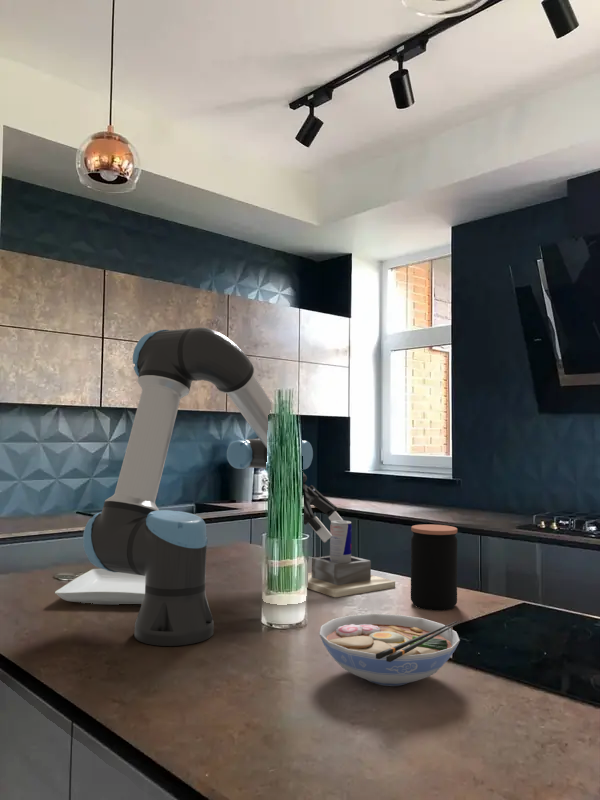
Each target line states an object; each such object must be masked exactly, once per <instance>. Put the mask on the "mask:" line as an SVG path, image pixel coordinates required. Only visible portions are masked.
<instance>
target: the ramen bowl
mask: <svg viewBox="0 0 600 800" xmlns="http://www.w3.org/2000/svg"><path fill="white" fill-rule="evenodd" d="M460 623H461V621H453V622H451V623H449V624H446V625H445V624H443V623H441V622H436V621H434V620H429V619H426V618H422V617H417V616H410V615H403V614H389V613H365V614H364V613H363V614H351V615H346V616H345V615H344V616H340V617H337V618H333V619H330V620H328V621H327V622H324V623H323V624H322V625H320V627H319V628H320V629H319V632H318V634H319V637H320V639H321V642H322V644H323V645H324V647H325V648H326V651H327V652H328V654H329V655H330V656H331V657H332V659H334V661H335V662H337V664H338V665H339V666H341V668H343V669H344V670H345V671H347V672H348V673H349V674H352V675H354V676H356V677H359V678H361V679H364V680H367V681H368V682H370V683H372V684H375V685H377V686H384V687H401V686H404V685H406V684H409V683H414V682H417V681H420V680H423V679H426V678H429V677H431V676H433V675H434V674H436V673H438V671H439V670H440V669H441V668H442V667H443V666H444V665H445V664H446V663H447V661H448V660H449V659H450V658H451V656H452V655H453V653H455V651H456V649H457V647H458V645H459V643H460V641H461V639H460V637H459V634H458V633H457V631H455V630H454V629H452V628H453V627H456V626H458V624H460Z"/></svg>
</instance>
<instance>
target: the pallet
mask: <svg viewBox="0 0 600 800" xmlns="http://www.w3.org/2000/svg"><path fill="white" fill-rule="evenodd" d="M371 572H372V561H371V560H370V559H365V558H361V557H357V556H354V555H351V562H347V563H335V562H331V561H330V555H325V556H319V557H312V558H311V572H307V573H308V588H307V589H309V590H311V591H313V592H314V591H315V592H318V593H322V594H323V595H326V596H330V597H333V598H339V597H346V596H351V595H352V596H353V595H356V594H357V595H358V594H364V593H369V592H377V591H382V590H387V589H393V588H396V581H394V580H391V579H388V578H385V577H382V576H376V575H373V574H372V573H371Z"/></svg>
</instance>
